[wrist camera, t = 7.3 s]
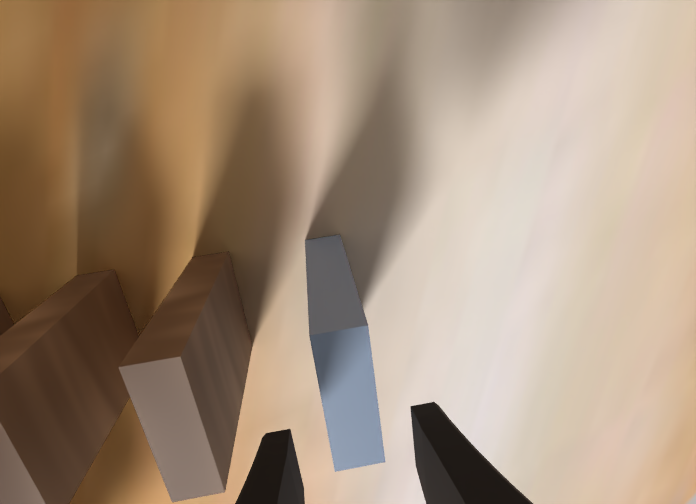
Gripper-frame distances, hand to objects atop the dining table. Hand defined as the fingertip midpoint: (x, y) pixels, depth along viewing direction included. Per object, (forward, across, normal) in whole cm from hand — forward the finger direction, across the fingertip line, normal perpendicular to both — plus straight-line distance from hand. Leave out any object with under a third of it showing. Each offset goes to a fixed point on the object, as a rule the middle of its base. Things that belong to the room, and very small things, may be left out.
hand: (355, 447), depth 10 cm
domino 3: (+10, 0, 0) cm, 10 cm away
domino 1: (+10, +10, 0) cm, 14 cm away
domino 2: (+10, +5, 0) cm, 11 cm away
